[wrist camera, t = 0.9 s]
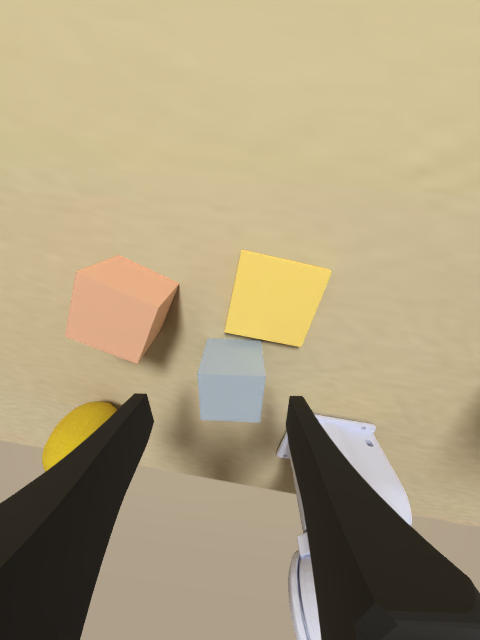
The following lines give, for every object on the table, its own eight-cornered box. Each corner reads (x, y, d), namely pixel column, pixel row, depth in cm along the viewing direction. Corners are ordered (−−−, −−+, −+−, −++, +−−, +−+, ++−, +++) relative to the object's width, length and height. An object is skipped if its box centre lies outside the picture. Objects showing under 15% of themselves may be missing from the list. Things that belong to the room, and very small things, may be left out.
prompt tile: (328, 269, 17) (332, 271, 17) (299, 342, 20) (301, 347, 20) (241, 249, 17) (241, 251, 16) (225, 327, 20) (224, 332, 19)
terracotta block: (179, 283, 18) (158, 307, 14) (161, 329, 20) (137, 364, 16) (119, 254, 17) (75, 271, 13) (106, 306, 19) (65, 336, 15)
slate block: (261, 339, 21) (265, 376, 16) (257, 380, 23) (260, 422, 18) (207, 337, 21) (197, 373, 16) (209, 378, 23) (200, 420, 18)
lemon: (104, 425, 26) (53, 505, 19) (73, 393, 24) (1, 471, 17) (144, 414, 25) (104, 494, 18) (114, 379, 23) (57, 456, 16)
